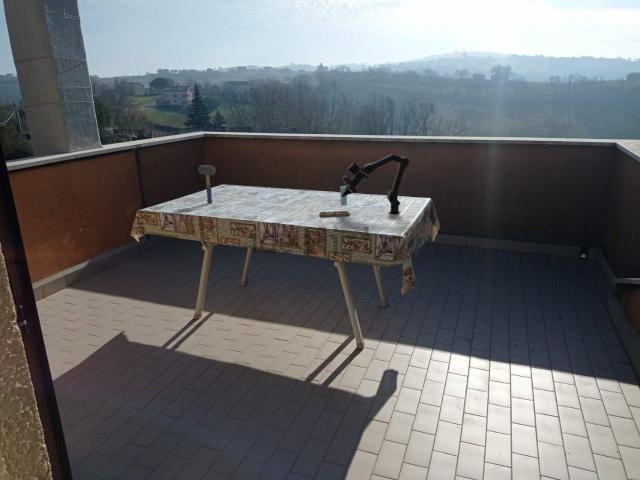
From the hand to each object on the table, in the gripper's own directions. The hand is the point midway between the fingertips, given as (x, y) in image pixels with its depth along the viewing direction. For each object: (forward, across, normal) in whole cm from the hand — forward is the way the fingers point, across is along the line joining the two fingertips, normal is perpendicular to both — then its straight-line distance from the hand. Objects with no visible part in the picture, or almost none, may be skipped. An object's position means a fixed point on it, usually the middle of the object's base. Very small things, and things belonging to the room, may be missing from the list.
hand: (341, 196), depth 315 cm
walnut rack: (+13, 0, +6) cm, 14 cm away
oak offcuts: (+16, 0, +4) cm, 16 cm away
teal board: (+4, 0, +6) cm, 7 cm away
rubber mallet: (+78, -54, -59) cm, 112 cm away
